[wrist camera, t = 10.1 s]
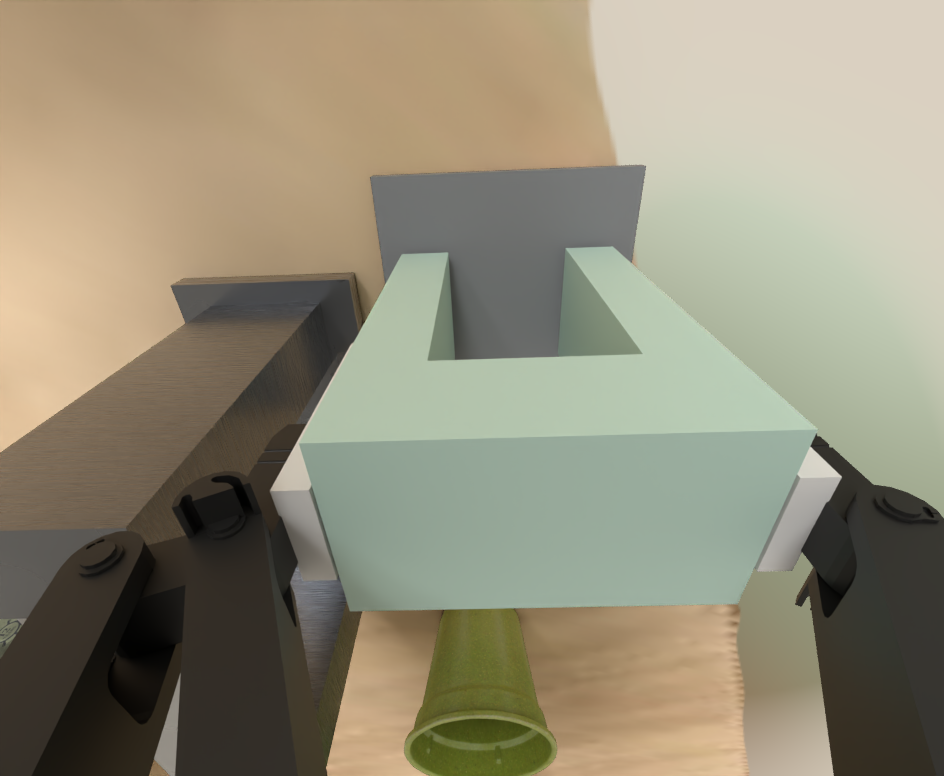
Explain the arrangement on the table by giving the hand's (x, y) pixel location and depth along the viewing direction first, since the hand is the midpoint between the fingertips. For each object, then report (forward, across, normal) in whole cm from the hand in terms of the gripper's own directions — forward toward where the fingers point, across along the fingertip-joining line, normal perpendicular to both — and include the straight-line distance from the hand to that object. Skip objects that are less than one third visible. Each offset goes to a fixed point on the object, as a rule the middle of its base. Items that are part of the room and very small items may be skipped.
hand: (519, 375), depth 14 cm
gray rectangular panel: (+8, 0, 0) cm, 8 cm away
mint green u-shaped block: (+7, 0, 0) cm, 7 cm away
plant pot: (+8, -2, -26) cm, 27 cm away
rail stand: (+8, -11, -8) cm, 16 cm away
